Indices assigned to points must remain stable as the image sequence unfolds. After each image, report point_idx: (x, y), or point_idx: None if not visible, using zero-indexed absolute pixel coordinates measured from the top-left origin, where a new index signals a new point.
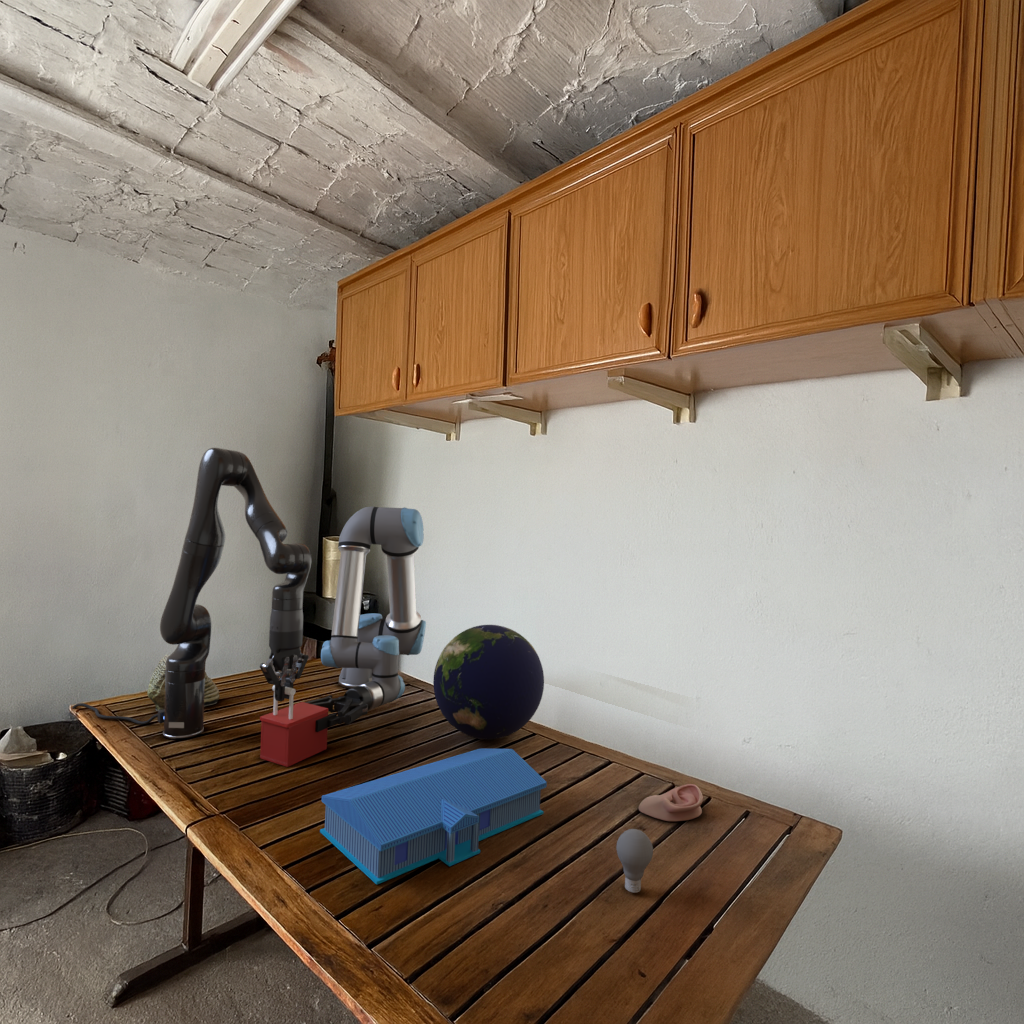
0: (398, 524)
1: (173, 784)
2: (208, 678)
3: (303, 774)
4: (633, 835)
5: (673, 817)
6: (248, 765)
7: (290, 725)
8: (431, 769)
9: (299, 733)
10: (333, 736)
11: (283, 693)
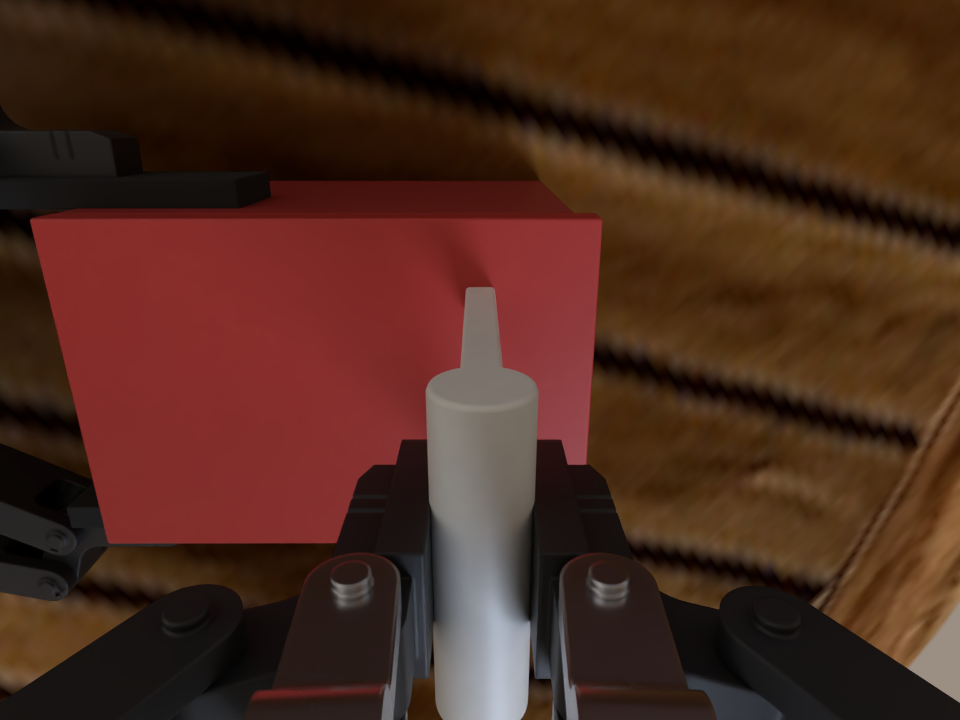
0: None
1: (950, 486)
2: None
3: (568, 8)
4: None
5: None
6: (630, 378)
7: (559, 214)
8: None
9: (443, 202)
10: (46, 295)
11: (552, 485)
